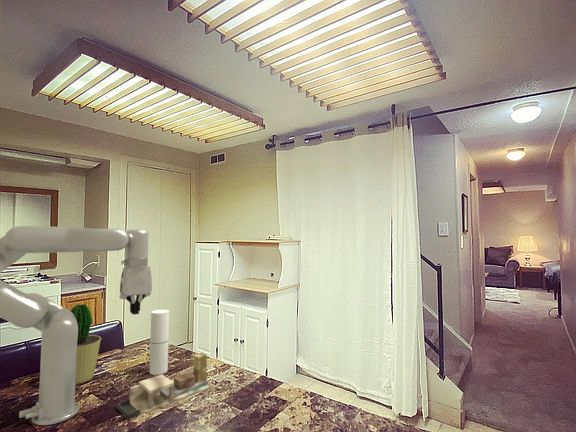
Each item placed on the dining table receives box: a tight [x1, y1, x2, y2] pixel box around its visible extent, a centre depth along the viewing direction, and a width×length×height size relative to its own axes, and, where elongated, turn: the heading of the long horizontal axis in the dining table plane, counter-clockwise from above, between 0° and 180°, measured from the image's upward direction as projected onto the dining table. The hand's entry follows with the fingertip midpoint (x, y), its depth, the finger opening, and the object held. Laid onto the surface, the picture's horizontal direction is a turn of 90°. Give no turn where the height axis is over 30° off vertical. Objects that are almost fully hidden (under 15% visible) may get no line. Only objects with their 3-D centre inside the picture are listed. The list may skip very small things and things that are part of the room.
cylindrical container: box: [149, 309, 170, 376], centre depth 141 cm, size 7×7×25 cm
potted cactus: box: [68, 303, 102, 385], centre depth 134 cm, size 15×15×30 cm
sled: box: [160, 352, 209, 399], centre depth 123 cm, size 16×6×11 cm, turn 136°
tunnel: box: [116, 374, 211, 420], centre depth 118 cm, size 30×10×6 cm, turn 136°
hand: (134, 313), depth 121 cm, fingers closed
